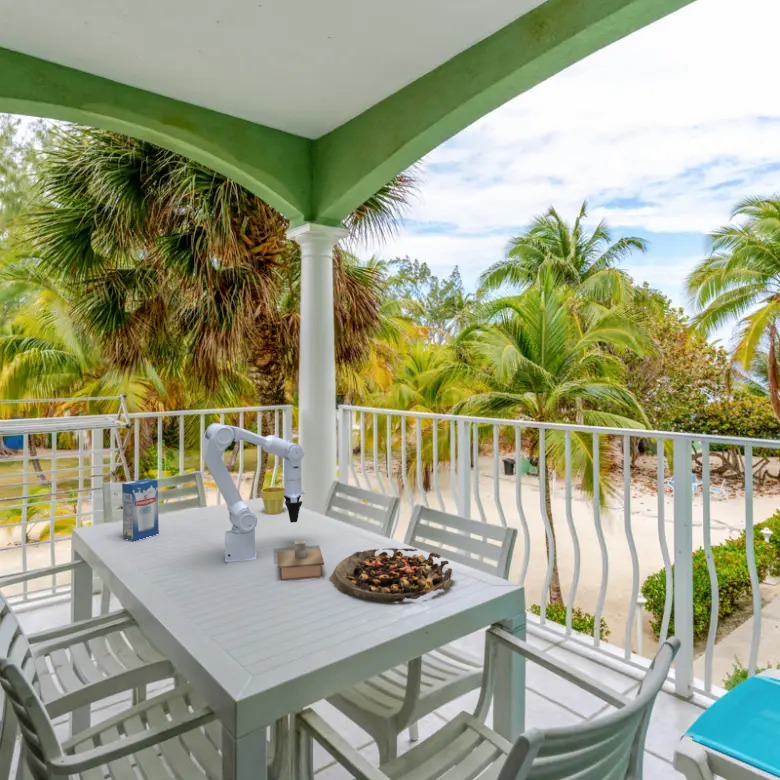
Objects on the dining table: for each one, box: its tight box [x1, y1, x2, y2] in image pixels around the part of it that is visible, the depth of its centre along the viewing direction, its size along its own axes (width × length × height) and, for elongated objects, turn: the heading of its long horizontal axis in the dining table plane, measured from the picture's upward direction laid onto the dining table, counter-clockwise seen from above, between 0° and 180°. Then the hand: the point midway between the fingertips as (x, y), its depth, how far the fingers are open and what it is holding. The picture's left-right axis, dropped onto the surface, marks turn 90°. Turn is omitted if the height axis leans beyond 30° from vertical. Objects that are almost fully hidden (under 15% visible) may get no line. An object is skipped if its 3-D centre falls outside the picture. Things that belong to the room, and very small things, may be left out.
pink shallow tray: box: [280, 565, 322, 582], centre depth 165 cm, size 11×11×4 cm
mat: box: [273, 544, 321, 565], centre depth 179 cm, size 15×15×1 cm
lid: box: [277, 539, 325, 569], centre depth 165 cm, size 13×13×5 cm
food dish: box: [328, 547, 453, 602], centre depth 159 cm, size 35×33×8 cm
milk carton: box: [121, 478, 160, 542], centre depth 200 cm, size 10×6×20 cm, turn 148°
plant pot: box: [260, 486, 285, 515], centre depth 233 cm, size 10×10×10 cm
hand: (293, 519), depth 187 cm, fingers open, 7 cm apart
